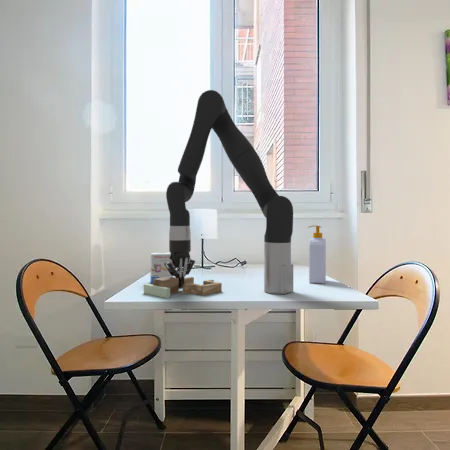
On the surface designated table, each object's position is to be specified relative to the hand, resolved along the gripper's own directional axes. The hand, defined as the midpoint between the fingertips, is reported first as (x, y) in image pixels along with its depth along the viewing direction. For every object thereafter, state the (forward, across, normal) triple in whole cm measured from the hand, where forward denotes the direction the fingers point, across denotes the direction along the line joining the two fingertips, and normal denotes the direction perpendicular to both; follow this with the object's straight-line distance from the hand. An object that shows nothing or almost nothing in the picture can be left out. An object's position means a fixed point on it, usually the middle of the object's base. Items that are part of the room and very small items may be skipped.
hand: (180, 287), depth 125 cm
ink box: (+1, +7, +19) cm, 20 cm away
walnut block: (+1, -6, 0) cm, 6 cm away
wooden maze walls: (+1, +4, -3) cm, 5 cm away
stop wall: (+1, -11, 0) cm, 11 cm away
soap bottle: (+2, +49, -28) cm, 56 cm away
